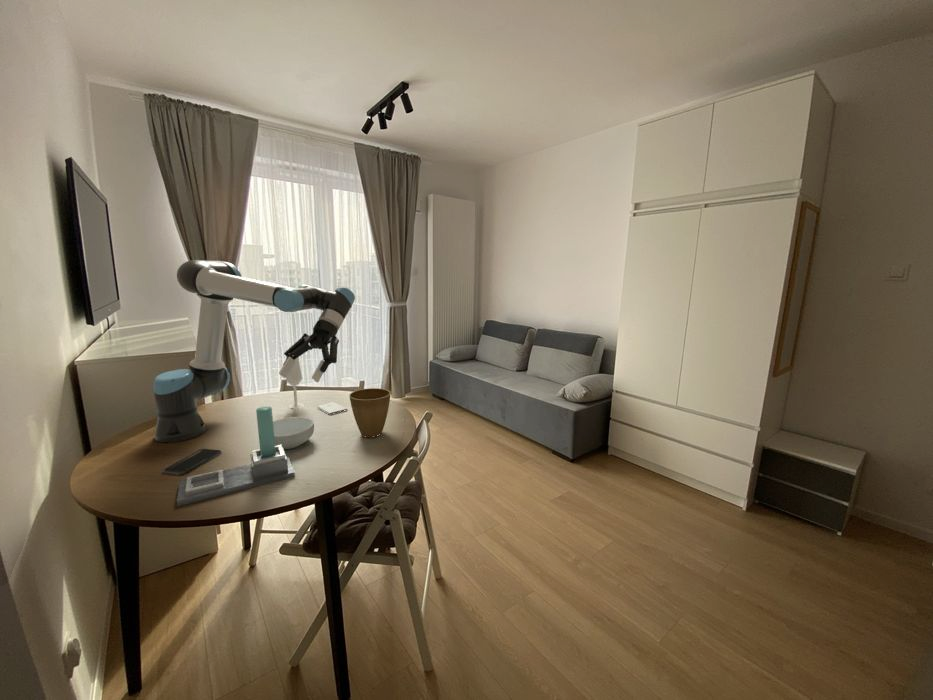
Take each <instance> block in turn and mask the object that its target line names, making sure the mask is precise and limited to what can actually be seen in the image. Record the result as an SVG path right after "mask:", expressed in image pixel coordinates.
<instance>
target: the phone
mask: <svg viewBox="0 0 933 700" xmlns="http://www.w3.org/2000/svg"><path fill="white" fill-rule="evenodd" d="M221 454H222V450H220V449H212V448H211V449H210V448H201V449H199V450H197V451H196V452H193V453H192V454H190V455H188V456H186V457H185V458H183V459H181V460H178V461H177V462H174V463H173V464H171V465H169V466H168V467H165V468H163V470H162V472H163V474H165V473H169V474H168V475H174V474H178V475H177V476H185V475H187V474H189V473H190V471H191V472H193V471H194V470H196V469H198V468H199V467H201V466H203V465H204V464H206V463H209V461H211V460H213V459H215V458H216V457H218V456H220V455H221ZM197 467H198V468H197ZM192 470H193V471H192ZM184 474H185V475H184Z"/></svg>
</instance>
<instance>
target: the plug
mask: <svg viewBox="0 0 933 700" xmlns="http://www.w3.org/2000/svg"><path fill="white" fill-rule="evenodd" d="M272 410H273V408H272V407H271V406H262V407H261V406H259V407H258V408H256V410H255V413H256V420H257V421H256V424H257V431H258V443H259V449H260V454H261V459H262V458H266V457H271V456H275V455H276V450H275V439H274V428H273V421H274V418H273V411H272Z"/></svg>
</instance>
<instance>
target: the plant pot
mask: <svg viewBox="0 0 933 700" xmlns="http://www.w3.org/2000/svg"><path fill="white" fill-rule="evenodd" d="M348 397H349V402H350V406H351V410H352V413H353V417H354V421H355V424H356V426H357V428H358V431H359V433H360V435H361V436H362V437H363V436H366V437H365V438H367V437H373V436H377V435H379V434H381V435H382V433H383V431H384V427H385V424H386V421H387V417H388V413H389V407H390V401H391V400H390V399H391V391H390V390H388V389H385V388H377V387H376V388H374V387H372V388H362V389H357V390H354V391H352V392H350V393H349V395H348ZM379 436H380V435H379ZM377 437H378V436H377ZM373 438H374V437H373Z"/></svg>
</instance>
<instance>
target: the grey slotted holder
mask: <svg viewBox="0 0 933 700" xmlns="http://www.w3.org/2000/svg"><path fill="white" fill-rule="evenodd" d="M275 450H276V455H275V456H271V457H266V458H262V459H261V454H260V448H259V449H254V450H251V454H250V455H249V456H250V464H246V465H242V466H238V467H237V466H236V467H233V468H229V469H228V468H227V469H224V470H223V469H219V470H214V471H210V472H204V473H200V474H196V475H191V476H186V478H182V479H180V480H179V486H178V492H177V498H176V506H177V507H181V506H184V505H188V504H189V505H190V504H192V503H196V502H200V501H205V500H209V499H212V498H215V497H221V496H225V495H228V494H232V493H235V492H240V491H244V490H248V489H251V488H256V487H260V486H263V485H268V484H271V483H276V482H279V481H284V480H287V479H292V478H295V475H296V474H295V472H296V471H295V470H294V467H293V465H292V462H291V459H290V457H289V455H286V452H285V449H283V447H282V446H281V445H277V446H275Z"/></svg>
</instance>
